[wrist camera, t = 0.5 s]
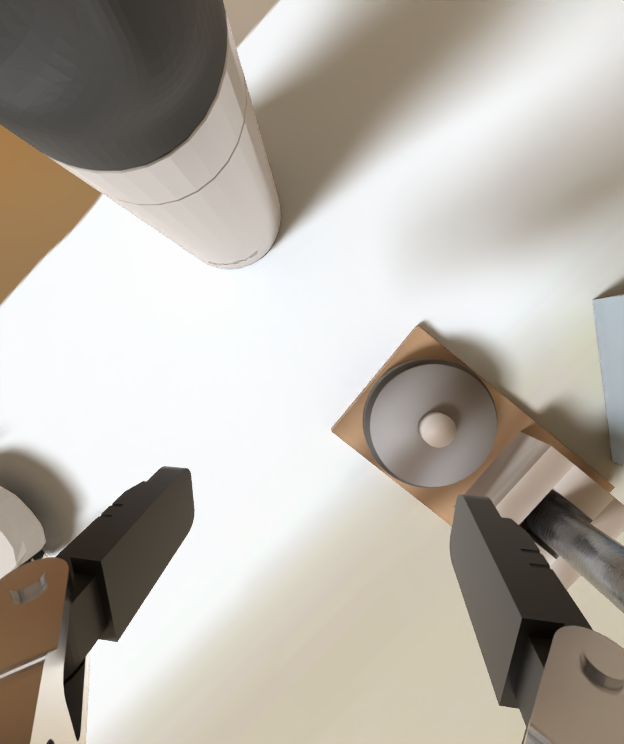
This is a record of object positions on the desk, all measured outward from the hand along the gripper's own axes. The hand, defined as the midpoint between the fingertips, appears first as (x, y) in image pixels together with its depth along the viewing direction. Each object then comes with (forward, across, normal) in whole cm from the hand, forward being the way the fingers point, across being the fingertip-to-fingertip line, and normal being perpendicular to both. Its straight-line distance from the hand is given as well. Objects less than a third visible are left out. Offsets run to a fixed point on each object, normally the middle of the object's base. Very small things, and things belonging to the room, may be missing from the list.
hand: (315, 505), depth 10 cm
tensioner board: (+21, -12, +9) cm, 26 cm away
